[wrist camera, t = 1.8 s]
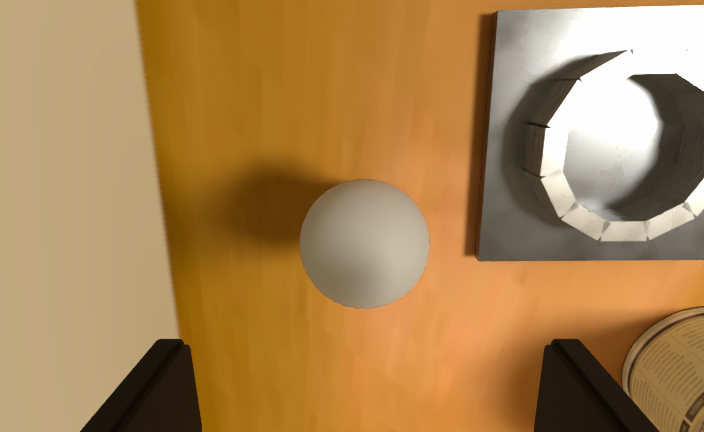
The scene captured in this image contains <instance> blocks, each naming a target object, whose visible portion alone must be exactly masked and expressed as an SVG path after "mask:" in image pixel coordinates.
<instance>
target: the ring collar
mask: <svg viewBox="0 0 704 432" xmlns="http://www.w3.org/2000/svg"><path fill="white" fill-rule="evenodd" d="M475 257H476V258H477V260H478V261H588V260H704V5H698V6H658V7H617V8H577V9H537V10H498V11H496V12H495V13H493V17H492V30H491V44H490V57H489V70H488V83H487V96H486V110H485V123H484V136H483V149H482V162H481V176H480V189H479V202H478V215H477V228H476V241H475Z"/></svg>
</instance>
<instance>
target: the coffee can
mask: <svg viewBox="0 0 704 432" xmlns="http://www.w3.org/2000/svg"><path fill="white" fill-rule="evenodd" d="M622 384H623V390H624V391H625V392H626V394H627V395H628V396H629V397H630V398H631V399H632V400H633V402H634V403H635V404H636V405H637V406H638V407H639V408H640V409H641V411H642V412H643V413H644V414H645V415H646V416H647V417H648V419H649V420H650V421H651V422H652V423H653V424H654V425H655V427H656V428H657V429H658V430H659V431H660V432H704V307H699V308H693V309H688V310H684V311H681V312H678V313H675V314H673V315H671V316H668V317H666V318H664V319H663V320H661V321H659V322H657V323H656V324H655V325H653V326H651V327H650V328H649V329H647V330H646V332H645V333H644V334H643V335H642V336H640V337H639V338H638V340H637V341H636V342H635V343H634V345H633V346H632V348H631V349H630V351H629V353H628V355H627V357H626V360H625V362H624V367H623V370H622Z"/></svg>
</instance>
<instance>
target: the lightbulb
mask: <svg viewBox="0 0 704 432" xmlns="http://www.w3.org/2000/svg"><path fill="white" fill-rule="evenodd" d="M429 243H430V240H429V233H428V228H427V225H426V222H425V219H424V217H423V215H422V213H421V211H420V210H419V208H418V206H417V205H416V203H415V202H414V201H413V200H412V199H411V198H410V197H409V196H408V195H407V194H406V193H404V192H403V191H401V190H400V189H398V188H397V187H395V186H392V185H390V184H388V183H386V182H381V181H377V180H370V179H358V180H352V181H347V182H344V183H341V184H339V185H336V186H334V187H332V188H331V189H329V190H328V191H326V192H324V193H323V194H322V195H321V196H320V197H319V198H318V199H317V200H316V201H315V202H314V204H313V205H312V206H311V208H310V209H309V211H308V213H307V215H306V217H305V220H304V222H303V224H302V228H301V233H300V254H301V258H302V263H303V266H304V268H305V270H306V273H307V275H308V277H309V278H310V280H311V281H312V282H313V284H314V285H315V286H316V288H317V289H318V290H319V291H320V292H321V293H323V294H324V295H325V296H326V297H328V298H329V299H331V300H332V301H334V302H336V303H339V304H341V305H344V306H347V307H352V308H356V309H371V308H379V307H382V306H385V305H388V304H391V303H393V302H395V301H397V300H399V299H400V298H402V297H403V296H404V295H405V294H407V293H408V292H409V291H410V290H411V289H412V288H413V287H414V285H415V284H416V283H417V282H418V280H419V278H420V277H421V275H422V273H423V271H424V269H425V266H426V263H427V260H428V254H429Z"/></svg>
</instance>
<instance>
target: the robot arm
mask: <svg viewBox="0 0 704 432" xmlns="http://www.w3.org/2000/svg"><path fill="white" fill-rule="evenodd" d="M80 432H202V424H201V417H200V410H199V404H198V397H197V390H196V383H195V377H194V370H193V363H192V356H191V350H190V347H189V345H184V342H183V340H181V339H159V340H157V341H156V342H155V343H154V345H153V346H152V347H151V348H150V349H149V350H148V352H147V353H146V354H145V355H144V356H143V358H142V359H141V360H140V361H139V362H138V363H137V365H136V366H135V367H134V368H133V369H132V371H131V372H130V373H129V374H128V375H127V377H126V378H125V379H124V380H123V381H122V383H121V384H120V385H119V386H118V388H116V390H115V391H114V392H113V393H112V394H111V396H110V397H109V398H108V399H107V400H106V401H105V403H104V404H103V405H102V406H101V407H100V409H99V410H98V411H97V412H96V413H95V414H94V416H93V417H92V418H91V419H90V420H89V421H88V423H87V424H86V425H85V426H84V427H83V429H82V430H81V431H80ZM534 432H660V431H659V430H658V429H657V428H656V427H655V425H654V424H653V423H652V422H651V421H650V420H649V419H648V417H647V416H646V415H645V414H644V413H643V412H642V411H641V409H640V408H639V407H638V406H637V405H636V404H635V403H634V402H633V400H632V399H631V398H630V397H629V396H628V395H627V394H626V392H625V391H624V390H623V389H622V388H621V387H620V386H619V385H618V383H617V382H616V381H615V380H614V379H613V378H612V377H611V375H610V374H609V373H608V372H607V371H606V370H605V369H604V367H603V366H602V365H601V364H600V363H599V362H598V361H597V360H596V358H595V357H594V356H593V355H592V354H591V353H590V352H589V350H588V349H587V348H586V347H585V346H584V345H583V344H582V343H581V341H579V340H578V339H554V340H553V341H552V342H551V345H546V346H545V349H544V356H543V363H542V371H541V379H540V386H539V394H538V402H537V409H536V417H535V425H534Z"/></svg>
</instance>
